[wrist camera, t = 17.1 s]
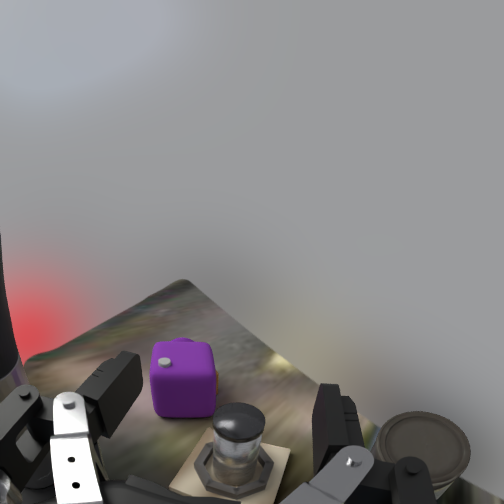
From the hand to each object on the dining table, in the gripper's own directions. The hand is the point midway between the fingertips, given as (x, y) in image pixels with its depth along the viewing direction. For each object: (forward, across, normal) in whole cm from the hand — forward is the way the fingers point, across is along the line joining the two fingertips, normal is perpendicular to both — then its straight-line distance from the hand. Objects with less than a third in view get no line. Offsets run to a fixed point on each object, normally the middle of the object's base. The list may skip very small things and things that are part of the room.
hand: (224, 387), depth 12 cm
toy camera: (+26, +11, +26) cm, 39 cm away
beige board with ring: (+12, 0, +26) cm, 29 cm away
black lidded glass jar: (+12, 0, +25) cm, 28 cm away
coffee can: (+7, -18, +26) cm, 32 cm away
